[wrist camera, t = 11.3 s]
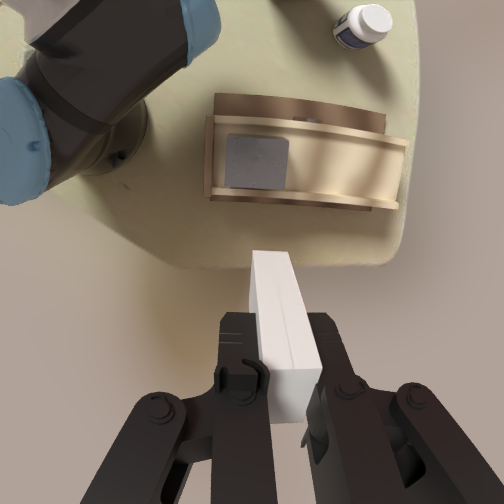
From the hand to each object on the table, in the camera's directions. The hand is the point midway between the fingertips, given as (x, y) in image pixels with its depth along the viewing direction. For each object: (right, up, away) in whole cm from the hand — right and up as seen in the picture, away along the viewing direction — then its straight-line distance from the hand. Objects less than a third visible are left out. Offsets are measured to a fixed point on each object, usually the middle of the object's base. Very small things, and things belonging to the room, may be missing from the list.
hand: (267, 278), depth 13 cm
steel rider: (0, +12, +19) cm, 23 cm away
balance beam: (+6, +12, +21) cm, 25 cm away
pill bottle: (+13, +32, +19) cm, 39 cm away
